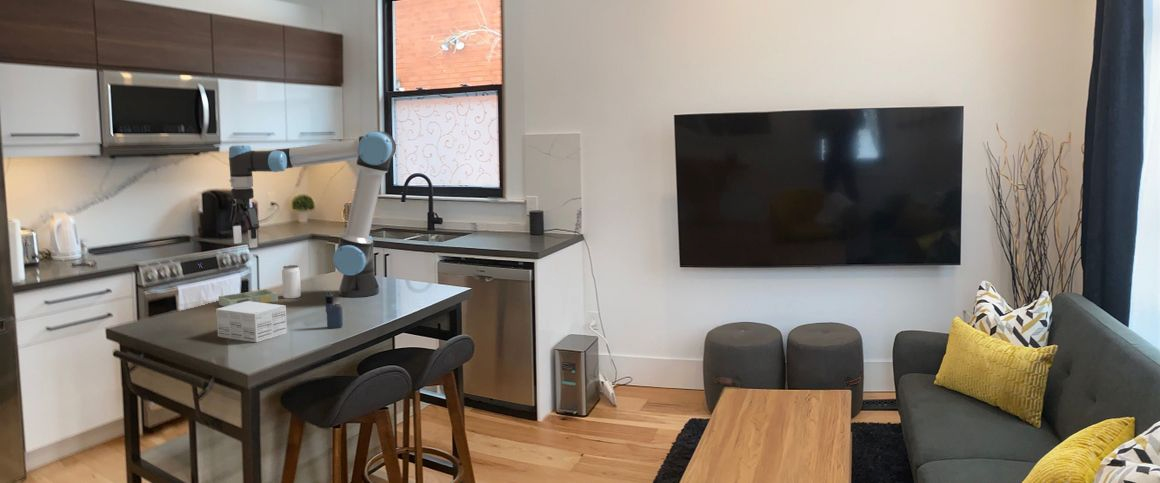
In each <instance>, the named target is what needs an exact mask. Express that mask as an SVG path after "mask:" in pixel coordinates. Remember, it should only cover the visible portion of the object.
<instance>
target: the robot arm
mask: <svg viewBox="0 0 1160 483" xmlns="http://www.w3.org/2000/svg"><path fill="white" fill-rule="evenodd" d="M396 150H397V145H396V141H395V139H394V137H393V136H392V135H391V134H390V133H388V132H385V131H371V132H368V133H366V134H364V135H361V136H359V137H358V138H356V139H351V140H344V141H343V140H342V141H336V142H328V143H327V142H326V143H319V144H309V145H303V146H296V147H295V146H294V147H289V148H288V147H287V148H277V149H274V150H273V149H272V150H258V151H257V150H252V148H251V146H250V145H244V144H243V145H239V144H238V145H231V146H230V147H229V148H228V164H229V175H230V179H229V182H230V187H231V190H230V194H231V195H230V196H231V199H232V200H231V209H230V210H231V212H230V219H229V224H231V226H232V232H233V233H232V235H233V236H232V237H233V244H235V245H237V244H242V243H243V240H242V236H243V235H242V223H241V221H242V219H243V216H244V219H245V222H246V223H247V226H248V227H247V232H248V247H249V248H250V249H253V248H258V235H257V234H258V233H257V230H258V229H260V224H259V220H258V216H257V215H258V214H257V213H256V212H257V211H256V209H255V202H254V201H250V200H251V199H254V189H253V188H252V187H254V179H253V178H254V175H253V172H256V173H257V172H264V173H265V172H273V173H278V172H284V171H286V169H293V168H300V167H301V168H302V167H308V166H316V165H325V164H333V163H340V162H341V163H342V162H348V161H349V162H350V161H356V167H357V168H358V174H357V180H356V182H355V183H356V184H355V188H354V193H353V198H352V201H351V206H350V209H349V210H350V211H349V215H348V219H347V223H346V227H345V232H343V233H342V234H340V236H339V240H338V244H337V247H336V248H337V249H336V250H335V252H334V254H333V258H332V263H333V265H334V267H335V269H336V270H337V271H338V272H339V273H341V274H342V279H341V282H340V285H339V289H338V290H339V296H342V297H348V298H362V297H363V298H364V297H365V298H366V297H370V296H375V295H378V294H379V293H380V287H379V286H380V285H379V283H378V281H377V277H376V275H375V269H374V268H375V267H374V264H375V263H374V241H373V240H374V239H373V237H372V235H370V233H371V229H372V225H373V224H372V223H373V219H374V215H375V210H376V206H377V203H378V198H379V192H380V189H381V184H382V179H383V176H384V175H385V174H386V173H388V172H389V168H390V164H391V160H392V158H393V157H394V155H395V153H396Z"/></svg>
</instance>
